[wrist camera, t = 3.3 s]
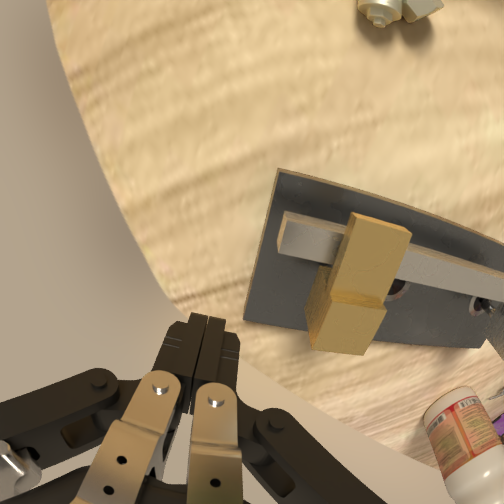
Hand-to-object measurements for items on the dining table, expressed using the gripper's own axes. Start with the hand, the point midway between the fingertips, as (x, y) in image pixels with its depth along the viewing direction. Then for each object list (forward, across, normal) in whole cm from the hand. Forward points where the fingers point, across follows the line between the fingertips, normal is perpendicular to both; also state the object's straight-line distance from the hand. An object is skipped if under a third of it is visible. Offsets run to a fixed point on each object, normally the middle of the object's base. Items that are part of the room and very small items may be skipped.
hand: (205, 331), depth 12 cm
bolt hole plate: (+11, -16, 0) cm, 20 cm away
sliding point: (+9, -7, -2) cm, 12 cm away
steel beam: (+9, -15, -1) cm, 17 cm away
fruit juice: (+12, -36, +19) cm, 43 cm away
